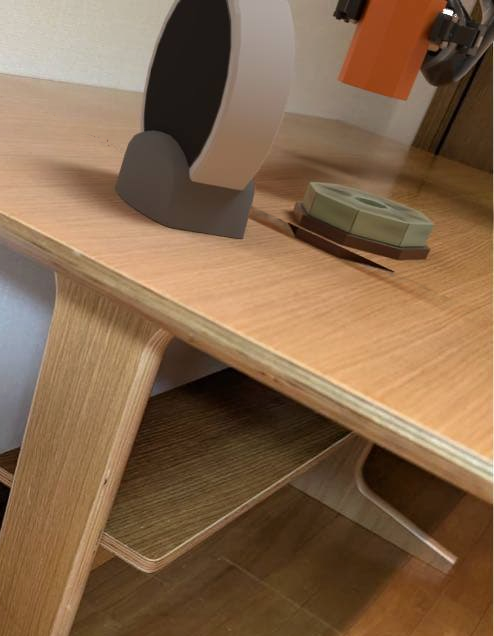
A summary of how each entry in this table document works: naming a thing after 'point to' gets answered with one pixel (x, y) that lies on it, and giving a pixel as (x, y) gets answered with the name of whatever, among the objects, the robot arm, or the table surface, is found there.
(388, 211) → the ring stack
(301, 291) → the table surface
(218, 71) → the alarm clock
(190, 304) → the table surface
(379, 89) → the orange octagonal prism
